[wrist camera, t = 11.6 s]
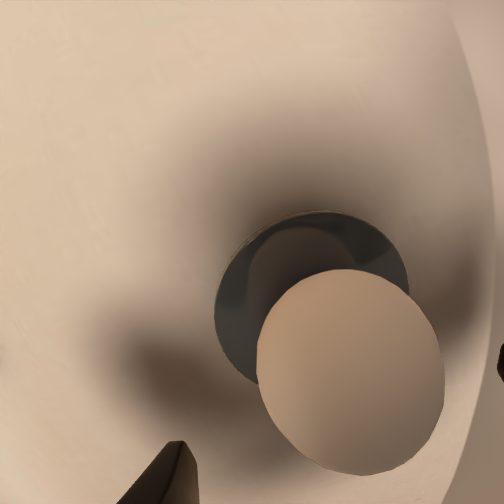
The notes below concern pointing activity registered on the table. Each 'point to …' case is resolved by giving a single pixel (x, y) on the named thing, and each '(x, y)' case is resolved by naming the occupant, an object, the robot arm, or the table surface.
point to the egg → (351, 372)
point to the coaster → (293, 272)
